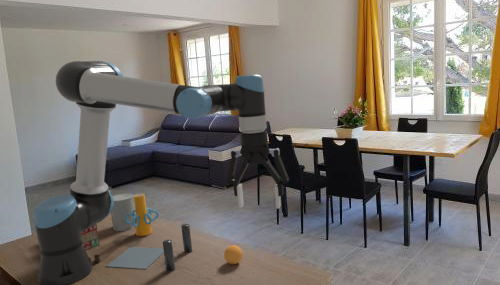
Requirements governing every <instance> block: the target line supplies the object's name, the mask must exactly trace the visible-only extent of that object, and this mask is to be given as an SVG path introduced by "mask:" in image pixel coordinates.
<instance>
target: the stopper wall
mask: <svg viewBox="0 0 500 285" xmlns="http://www.w3.org/2000/svg"><path fill="white" fill-rule="evenodd" d="M117 250H118V249H117V243H116V242H110V243H109V244H107V245H106V246H104V247H102V249H101V250H99V251H97V252H96V253H94V256H93V257H94V262H95V263H101V262H103V261H105V260H106V259H107V258H108V257H109V256H112V255H113V253H115V252H116V251H117Z"/></svg>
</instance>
